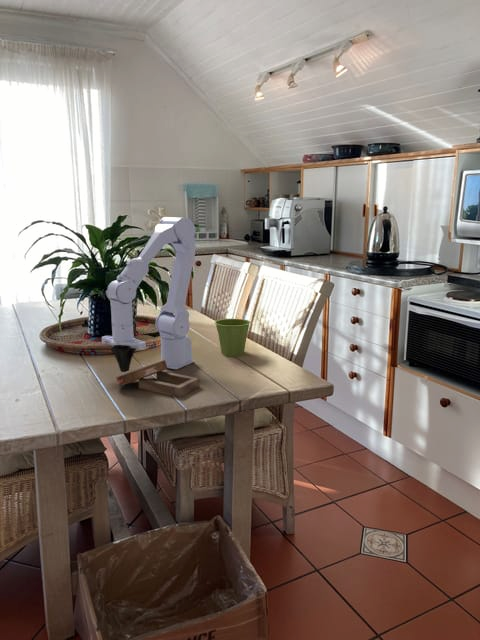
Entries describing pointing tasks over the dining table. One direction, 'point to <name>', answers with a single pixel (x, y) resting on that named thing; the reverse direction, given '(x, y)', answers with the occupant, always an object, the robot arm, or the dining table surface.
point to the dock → (181, 388)
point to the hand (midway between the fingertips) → (124, 371)
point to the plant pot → (232, 335)
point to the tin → (141, 373)
